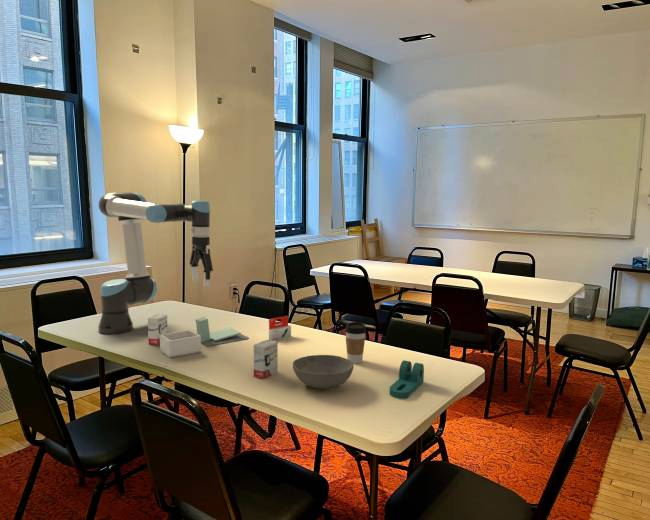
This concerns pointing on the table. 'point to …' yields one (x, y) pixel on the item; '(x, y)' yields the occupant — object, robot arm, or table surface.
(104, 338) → the table surface
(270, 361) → the ink box
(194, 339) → the tub
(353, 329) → the coffee cup
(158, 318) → the ink box
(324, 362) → the bowl
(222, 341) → the mat
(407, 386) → the bracket
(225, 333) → the lid
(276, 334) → the ink box
